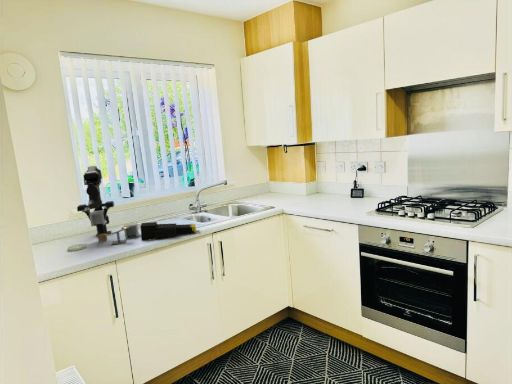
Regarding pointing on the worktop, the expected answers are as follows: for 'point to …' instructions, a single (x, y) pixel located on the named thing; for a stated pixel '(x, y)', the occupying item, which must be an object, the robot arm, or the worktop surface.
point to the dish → (76, 247)
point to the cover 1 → (97, 217)
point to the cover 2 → (131, 230)
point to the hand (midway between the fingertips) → (98, 220)
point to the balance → (117, 236)
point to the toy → (165, 230)
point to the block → (102, 237)
